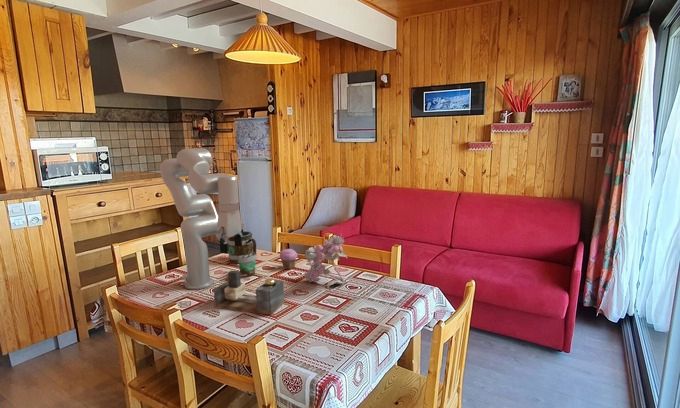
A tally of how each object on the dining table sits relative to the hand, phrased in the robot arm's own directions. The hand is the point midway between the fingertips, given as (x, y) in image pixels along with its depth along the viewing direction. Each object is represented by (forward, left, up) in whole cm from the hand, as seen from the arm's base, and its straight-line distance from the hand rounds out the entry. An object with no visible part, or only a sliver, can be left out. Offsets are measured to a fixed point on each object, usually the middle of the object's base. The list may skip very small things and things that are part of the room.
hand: (231, 249), depth 152 cm
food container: (-12, +31, -23) cm, 40 cm away
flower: (+26, +29, -23) cm, 45 cm away
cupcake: (+2, +45, -23) cm, 50 cm away
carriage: (0, 0, -19) cm, 19 cm away
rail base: (+7, 0, -23) cm, 23 cm away
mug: (-26, +48, -23) cm, 59 cm away
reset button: (+16, 0, -17) cm, 23 cm away
